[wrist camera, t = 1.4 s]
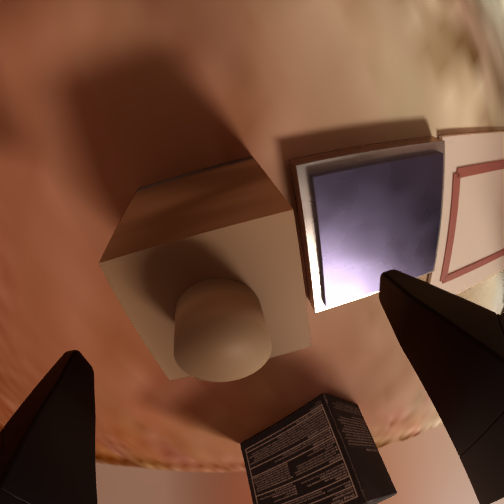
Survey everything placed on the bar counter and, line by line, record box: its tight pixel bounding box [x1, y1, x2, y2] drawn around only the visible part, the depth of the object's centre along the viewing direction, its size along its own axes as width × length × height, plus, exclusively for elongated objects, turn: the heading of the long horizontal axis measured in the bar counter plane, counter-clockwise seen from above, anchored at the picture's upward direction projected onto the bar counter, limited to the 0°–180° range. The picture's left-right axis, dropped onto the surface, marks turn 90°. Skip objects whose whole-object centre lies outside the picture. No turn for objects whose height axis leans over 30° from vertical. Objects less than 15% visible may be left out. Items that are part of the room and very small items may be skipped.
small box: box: [240, 394, 397, 504], centre depth 20 cm, size 11×6×10 cm, turn 137°
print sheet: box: [428, 131, 504, 295], centre depth 16 cm, size 10×12×1 cm
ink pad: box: [289, 136, 445, 313], centre depth 14 cm, size 8×8×1 cm
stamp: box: [99, 156, 311, 382], centre depth 10 cm, size 5×5×8 cm
